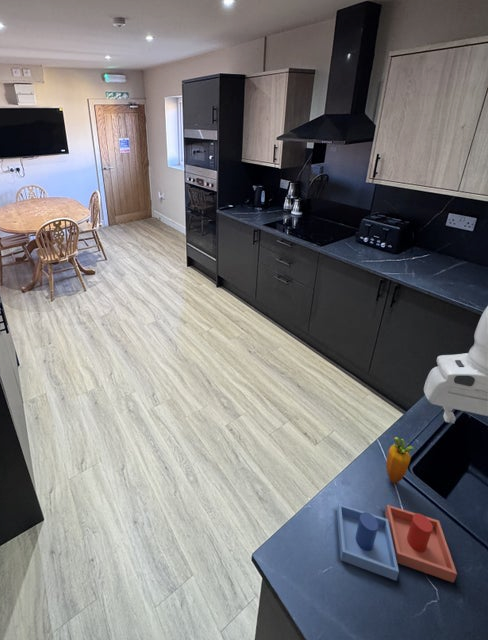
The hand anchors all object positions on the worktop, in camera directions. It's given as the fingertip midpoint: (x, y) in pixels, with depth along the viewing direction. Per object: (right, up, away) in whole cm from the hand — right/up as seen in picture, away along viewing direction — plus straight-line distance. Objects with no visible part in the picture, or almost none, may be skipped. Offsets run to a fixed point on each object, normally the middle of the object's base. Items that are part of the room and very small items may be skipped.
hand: (474, 426), depth 69 cm
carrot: (-7, -25, +17) cm, 31 cm away
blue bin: (-21, -30, +5) cm, 37 cm away
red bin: (-10, -29, +4) cm, 31 cm away
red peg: (-10, -29, +4) cm, 31 cm away
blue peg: (-21, -29, +4) cm, 36 cm away
